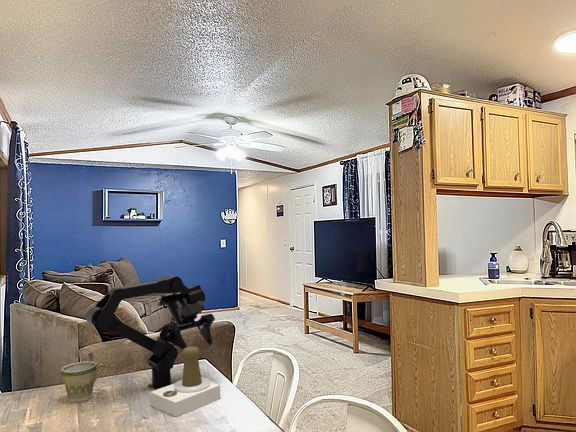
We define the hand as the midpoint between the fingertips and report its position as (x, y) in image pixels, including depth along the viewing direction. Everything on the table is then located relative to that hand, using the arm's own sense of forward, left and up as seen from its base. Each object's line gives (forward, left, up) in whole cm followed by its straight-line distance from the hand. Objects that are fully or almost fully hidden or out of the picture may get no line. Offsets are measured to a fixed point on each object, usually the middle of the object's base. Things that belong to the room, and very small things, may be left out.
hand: (199, 347), depth 142 cm
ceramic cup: (-26, -26, -14) cm, 39 cm away
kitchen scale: (+4, -9, -14) cm, 17 cm away
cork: (+4, -6, -9) cm, 12 cm away
